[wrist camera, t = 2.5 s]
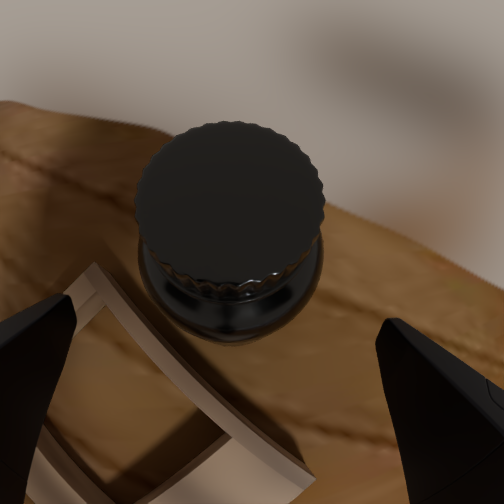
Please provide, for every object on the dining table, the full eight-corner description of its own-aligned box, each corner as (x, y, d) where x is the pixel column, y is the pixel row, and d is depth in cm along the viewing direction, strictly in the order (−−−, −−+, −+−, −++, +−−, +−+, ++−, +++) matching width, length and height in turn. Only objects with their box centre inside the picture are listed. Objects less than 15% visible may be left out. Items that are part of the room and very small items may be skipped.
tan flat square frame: (144, 570, 10) (137, 586, 7) (-11, 407, 13) (-30, 409, 11) (305, 464, 15) (316, 478, 12) (109, 272, 18) (94, 261, 15)
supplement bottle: (267, 230, 20) (312, 88, 8) (298, 329, 18) (408, 288, 6) (166, 253, 19) (98, 124, 7) (189, 358, 17) (116, 369, 5)
